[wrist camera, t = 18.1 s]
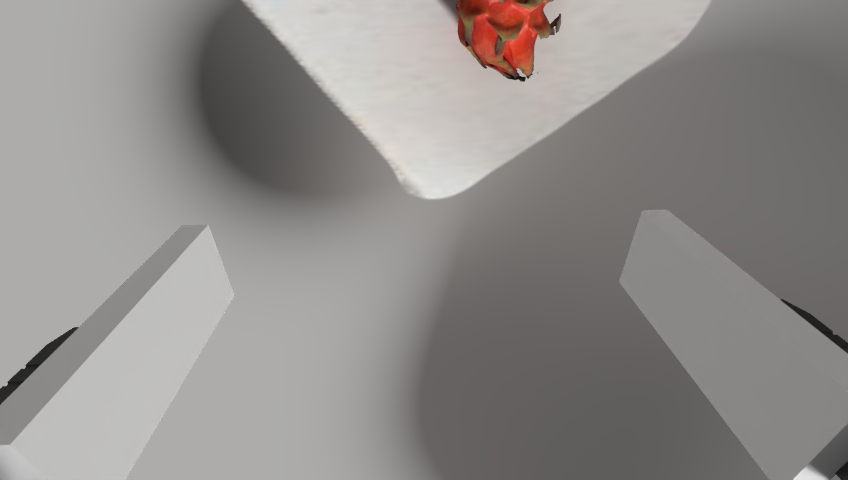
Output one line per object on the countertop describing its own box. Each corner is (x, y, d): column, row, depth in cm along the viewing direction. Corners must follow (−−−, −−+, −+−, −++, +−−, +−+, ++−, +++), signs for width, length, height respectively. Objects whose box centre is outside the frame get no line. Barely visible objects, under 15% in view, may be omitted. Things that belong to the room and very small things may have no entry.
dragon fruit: (483, -80, 33) (509, 59, 40) (412, -43, 30) (454, 99, 37) (572, -111, 27) (582, 59, 34) (493, -69, 24) (524, 107, 31)
